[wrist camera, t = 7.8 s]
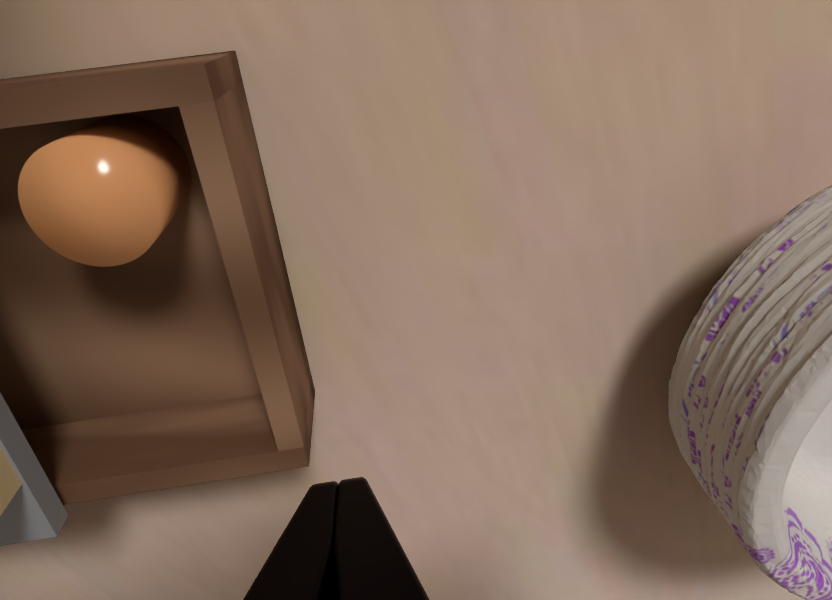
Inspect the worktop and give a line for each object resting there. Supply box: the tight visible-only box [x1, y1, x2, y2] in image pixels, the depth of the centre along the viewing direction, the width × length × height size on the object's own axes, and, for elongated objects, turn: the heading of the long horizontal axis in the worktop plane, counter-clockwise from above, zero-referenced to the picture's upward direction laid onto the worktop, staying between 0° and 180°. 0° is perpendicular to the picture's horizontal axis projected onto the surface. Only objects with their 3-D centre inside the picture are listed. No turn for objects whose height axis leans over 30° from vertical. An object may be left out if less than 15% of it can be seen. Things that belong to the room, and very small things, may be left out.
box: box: [0, 51, 315, 505], centre depth 17 cm, size 12×14×4 cm
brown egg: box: [18, 115, 192, 267], centre depth 15 cm, size 3×3×3 cm
